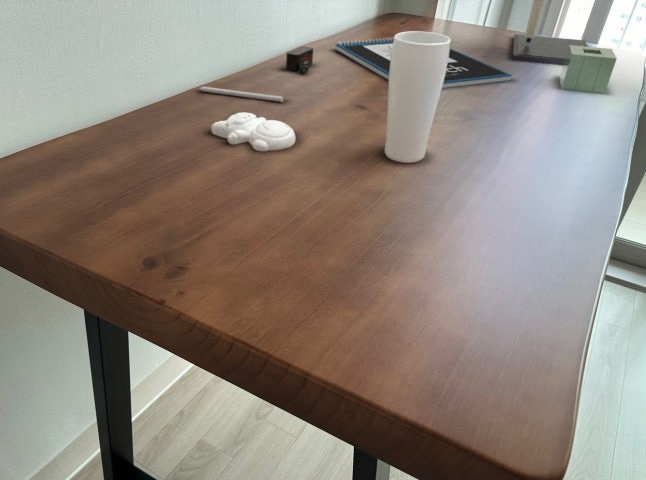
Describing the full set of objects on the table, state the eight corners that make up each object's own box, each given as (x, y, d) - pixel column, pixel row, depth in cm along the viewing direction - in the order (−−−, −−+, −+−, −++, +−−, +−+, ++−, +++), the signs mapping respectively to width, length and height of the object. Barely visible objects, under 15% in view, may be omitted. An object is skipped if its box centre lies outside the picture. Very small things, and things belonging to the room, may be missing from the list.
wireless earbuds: (282, 71, 108) (282, 53, 106) (301, 63, 113) (301, 46, 111) (304, 76, 106) (305, 57, 104) (322, 67, 111) (323, 49, 109)
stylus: (533, 41, 124) (552, -35, 115) (533, 43, 122) (553, -34, 114) (523, 40, 124) (542, -36, 116) (523, 42, 123) (542, -35, 114)
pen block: (600, 83, 105) (611, 48, 102) (604, 94, 100) (616, 58, 96) (559, 78, 107) (569, 44, 104) (561, 89, 102) (571, 54, 98)
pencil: (200, 86, 97) (283, 97, 93) (199, 91, 97) (282, 102, 93) (197, 85, 96) (282, 95, 92) (196, 90, 97) (280, 101, 92)
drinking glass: (378, 145, 80) (392, 29, 71) (427, 148, 79) (448, 32, 70) (378, 165, 74) (394, 42, 65) (432, 168, 73) (455, 45, 65)
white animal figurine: (242, 119, 87) (242, 99, 85) (307, 139, 81) (308, 118, 79) (202, 136, 81) (200, 115, 79) (268, 158, 75) (268, 136, 73)
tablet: (583, 45, 129) (585, 39, 128) (592, 68, 113) (594, 62, 112) (513, 39, 132) (514, 33, 132) (512, 60, 117) (513, 54, 116)
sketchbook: (409, 94, 99) (411, 82, 98) (332, 51, 121) (333, 41, 120) (510, 81, 105) (513, 69, 104) (419, 42, 128) (421, 33, 127)
